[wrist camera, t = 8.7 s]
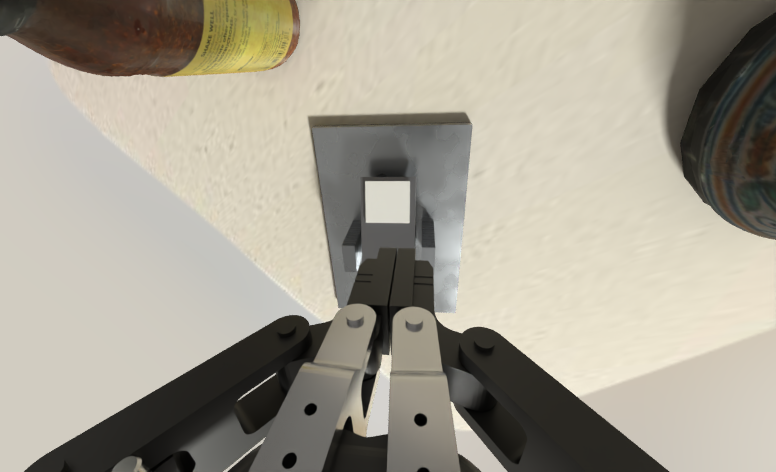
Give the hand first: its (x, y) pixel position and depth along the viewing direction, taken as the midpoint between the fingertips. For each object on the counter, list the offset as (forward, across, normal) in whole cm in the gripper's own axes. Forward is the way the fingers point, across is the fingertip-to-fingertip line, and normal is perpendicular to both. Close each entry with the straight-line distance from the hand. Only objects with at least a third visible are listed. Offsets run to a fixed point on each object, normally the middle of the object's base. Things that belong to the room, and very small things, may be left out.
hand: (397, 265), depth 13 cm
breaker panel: (+14, +2, +6) cm, 15 cm away
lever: (+9, +2, +6) cm, 11 cm away
